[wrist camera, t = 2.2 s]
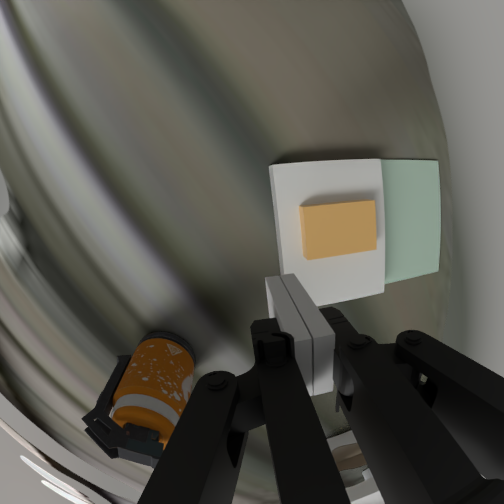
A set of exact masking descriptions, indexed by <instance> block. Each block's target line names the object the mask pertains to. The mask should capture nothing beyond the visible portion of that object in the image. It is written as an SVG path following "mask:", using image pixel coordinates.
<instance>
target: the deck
mask: <svg viewBox="0 0 504 504" xmlns="http://www.w3.org/2000/svg"><path fill="white" fill-rule="evenodd" d="M269 174H270V182H271V190H272V199H273V207H274V216H275V225H276V235H277V244H278V254H279V264H280V274H281V275H284V274H291V273H294V274H295V276H296V277H297V279H298V280H299V282H300V283H301V284H302V286H303V287H304V289H305V290H306V292H307V293H308V295H309V296H310V297H311V299H312V300H313V302H314V303H315V305H316V306H321V305H326V304H332V303H337V302H342V301H347V300H351V299H356V298H361V297H365V296H370V295H374V294H379V293H383V292H384V281H385V212H384V194H383V180H382V169H381V160H380V159H351V160H328V161H312V162H298V163H286V164H275V165H271V166H269ZM362 199H370V200H375V210H376V239H377V250H371V251H365V252H358V253H352V254H346V255H339V256H333V257H326V258H320V259H313V260H307V259H306V258H305V257H304V256H303V249H302V237H301V225H300V215H299V206H302V205H311V204H320V203H330V202H340V201H351V200H362Z"/></svg>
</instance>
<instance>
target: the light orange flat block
mask: <svg viewBox="0 0 504 504" xmlns="http://www.w3.org/2000/svg"><path fill="white" fill-rule="evenodd" d="M299 215H300V225H301V237H302V249H303V256H304V257H305V258H306V259H307V260H313V259H320V258H326V257H333V256H339V255H346V254H352V253H358V252H365V251H371V250H377V239H376V210H375V200H370V199H362V200H351V201H340V202H330V203H320V204H311V205H302V206H299Z"/></svg>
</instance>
